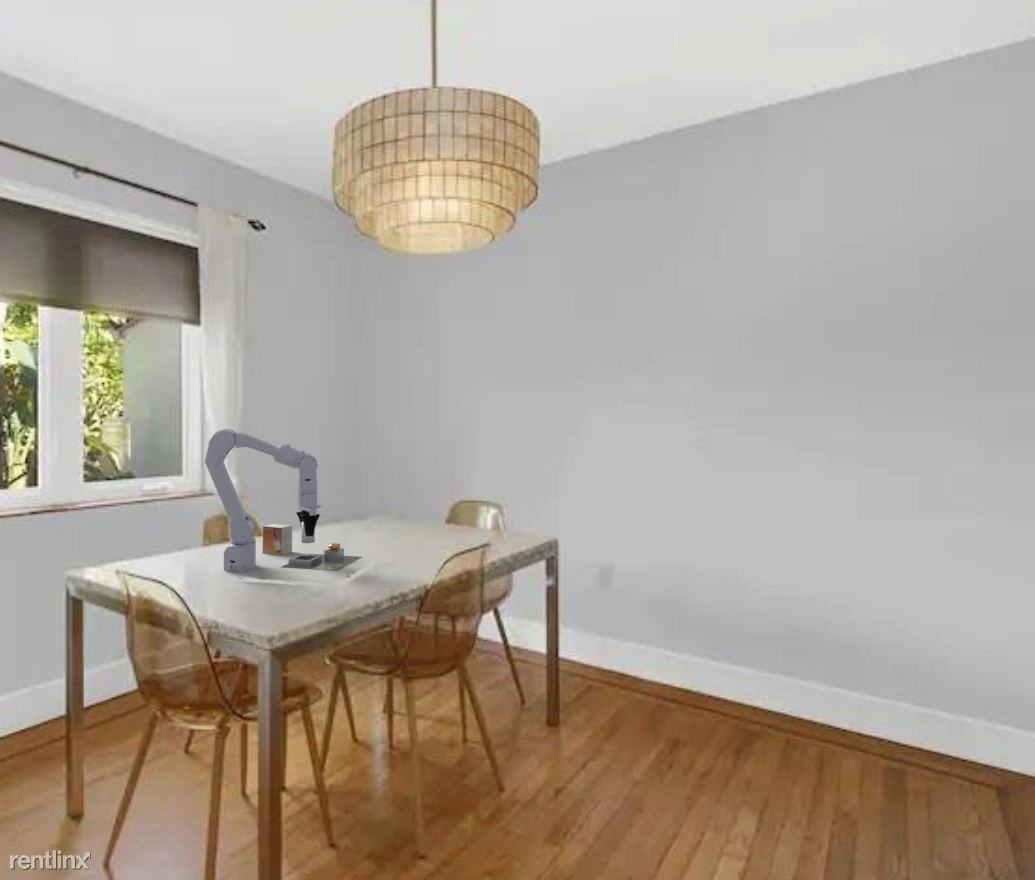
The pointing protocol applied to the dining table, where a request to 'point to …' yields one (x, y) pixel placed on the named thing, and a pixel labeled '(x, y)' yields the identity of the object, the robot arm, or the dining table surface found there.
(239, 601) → the dining table surface
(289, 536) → the small box
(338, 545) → the plunger
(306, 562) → the housing
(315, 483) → the robot arm
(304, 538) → the cylinder
